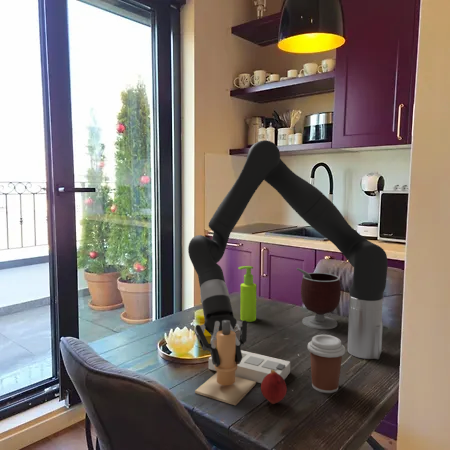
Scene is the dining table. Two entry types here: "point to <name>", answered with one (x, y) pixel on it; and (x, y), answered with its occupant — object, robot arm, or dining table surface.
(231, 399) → the cork mat
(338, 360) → the coffee cup
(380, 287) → the robot arm
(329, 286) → the mate gourd
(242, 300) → the soap dispenser
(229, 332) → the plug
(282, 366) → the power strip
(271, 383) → the onion
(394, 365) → the dining table surface
